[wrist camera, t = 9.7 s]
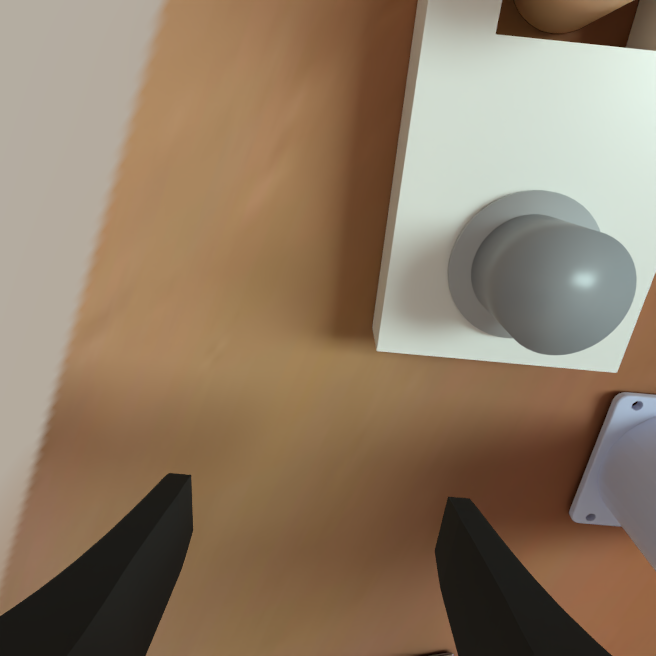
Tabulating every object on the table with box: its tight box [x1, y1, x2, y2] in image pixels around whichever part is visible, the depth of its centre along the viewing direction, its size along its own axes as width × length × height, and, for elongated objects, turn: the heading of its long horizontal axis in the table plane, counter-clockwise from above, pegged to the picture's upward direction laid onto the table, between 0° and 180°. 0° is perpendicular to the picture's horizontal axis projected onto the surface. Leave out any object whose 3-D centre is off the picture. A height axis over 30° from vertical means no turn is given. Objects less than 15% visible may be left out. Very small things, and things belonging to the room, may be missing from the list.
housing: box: [372, 0, 656, 373], centre depth 14 cm, size 10×18×6 cm, turn 175°
